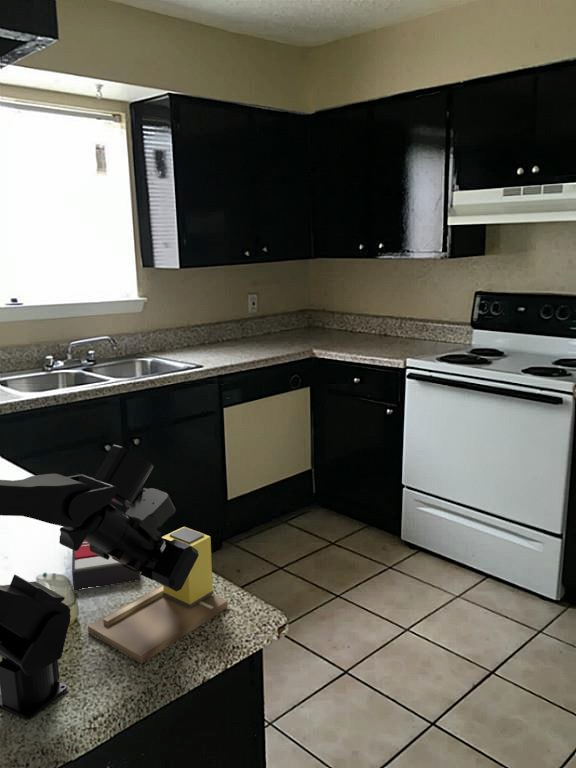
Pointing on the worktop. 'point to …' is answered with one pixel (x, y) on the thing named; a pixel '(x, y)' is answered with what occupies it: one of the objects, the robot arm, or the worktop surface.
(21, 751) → the worktop surface
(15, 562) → the worktop surface
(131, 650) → the subfloor panel
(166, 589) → the yellow pillar grey top
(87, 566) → the red and grey box
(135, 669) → the worktop surface
